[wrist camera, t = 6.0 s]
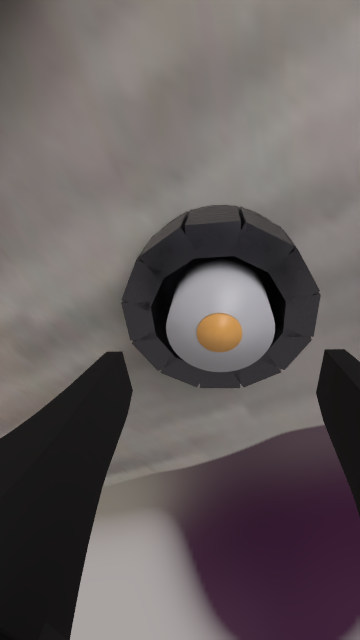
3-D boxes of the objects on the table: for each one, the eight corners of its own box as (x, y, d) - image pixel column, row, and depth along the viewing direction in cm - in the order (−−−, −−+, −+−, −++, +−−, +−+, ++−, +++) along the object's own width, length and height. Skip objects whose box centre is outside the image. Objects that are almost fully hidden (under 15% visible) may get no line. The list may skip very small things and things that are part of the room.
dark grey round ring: (308, 196, 14) (334, 213, 11) (290, 347, 18) (304, 388, 15) (127, 213, 15) (104, 232, 12) (153, 349, 20) (141, 387, 17)
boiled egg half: (265, 247, 15) (280, 282, 11) (260, 326, 17) (271, 375, 14) (172, 252, 15) (158, 287, 12) (180, 327, 18) (171, 374, 14)
